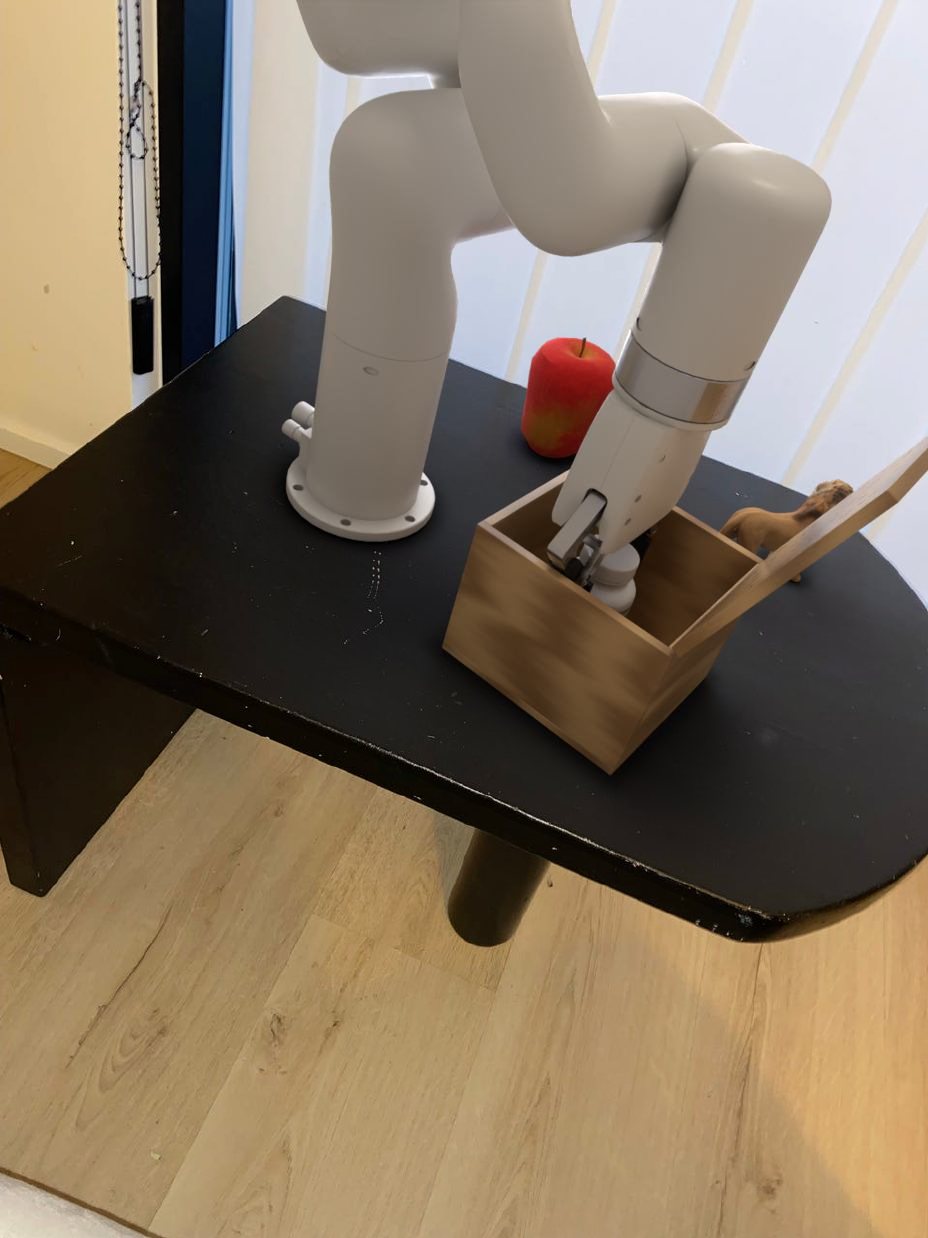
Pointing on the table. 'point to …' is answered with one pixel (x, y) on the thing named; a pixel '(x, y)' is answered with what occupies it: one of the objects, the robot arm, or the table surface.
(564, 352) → the apple
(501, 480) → the table surface
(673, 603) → the case box
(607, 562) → the pill bottle
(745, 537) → the lion figurine
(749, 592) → the cover
